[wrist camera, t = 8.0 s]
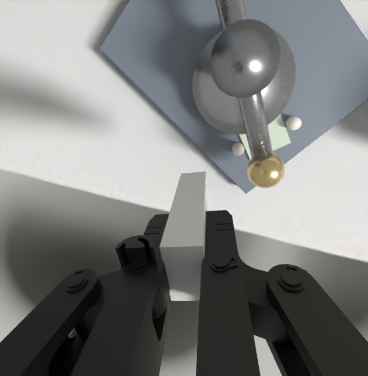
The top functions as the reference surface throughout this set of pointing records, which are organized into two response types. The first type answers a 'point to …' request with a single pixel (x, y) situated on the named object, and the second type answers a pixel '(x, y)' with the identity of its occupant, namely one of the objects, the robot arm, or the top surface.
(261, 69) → the grey lever with knob
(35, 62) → the top surface
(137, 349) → the robot arm
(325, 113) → the stand
